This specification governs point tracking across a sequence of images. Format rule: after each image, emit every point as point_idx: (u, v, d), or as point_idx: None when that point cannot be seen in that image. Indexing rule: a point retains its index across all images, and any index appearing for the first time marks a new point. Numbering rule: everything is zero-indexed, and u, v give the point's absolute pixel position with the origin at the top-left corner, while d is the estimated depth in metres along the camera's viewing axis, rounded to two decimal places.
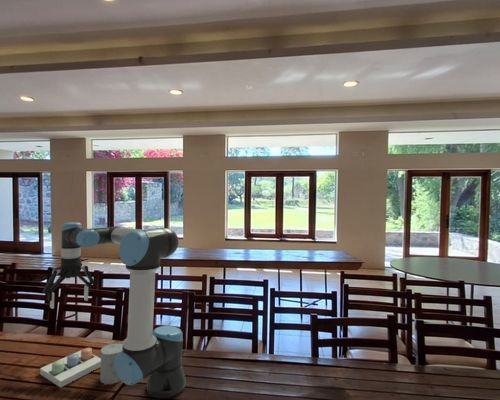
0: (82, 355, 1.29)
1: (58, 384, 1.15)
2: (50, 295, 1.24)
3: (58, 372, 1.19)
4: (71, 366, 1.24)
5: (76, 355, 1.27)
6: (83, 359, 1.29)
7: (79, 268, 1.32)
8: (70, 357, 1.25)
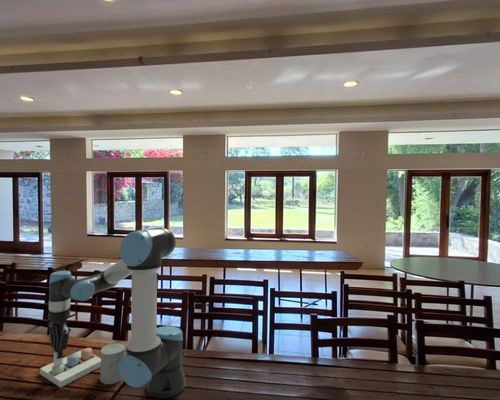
0: (82, 355, 1.29)
1: (58, 384, 1.15)
2: None
3: None
4: (71, 366, 1.24)
5: (76, 355, 1.27)
6: (83, 359, 1.29)
7: (60, 325, 1.18)
8: (70, 357, 1.25)
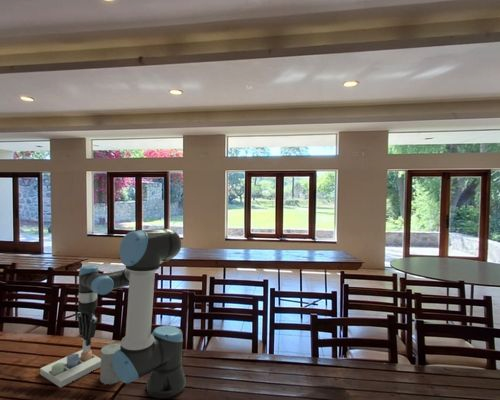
0: (82, 357, 1.29)
1: (58, 384, 1.15)
2: None
3: None
4: (71, 366, 1.24)
5: (76, 355, 1.27)
6: (83, 361, 1.29)
7: (89, 315, 1.28)
8: (70, 357, 1.25)
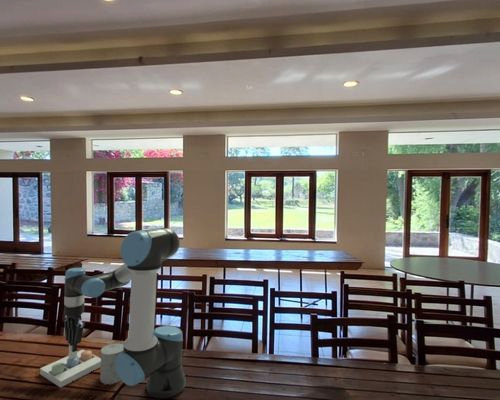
0: (82, 358, 1.29)
1: (58, 384, 1.15)
2: None
3: None
4: None
5: (76, 357, 1.27)
6: None
7: (75, 320, 1.23)
8: None
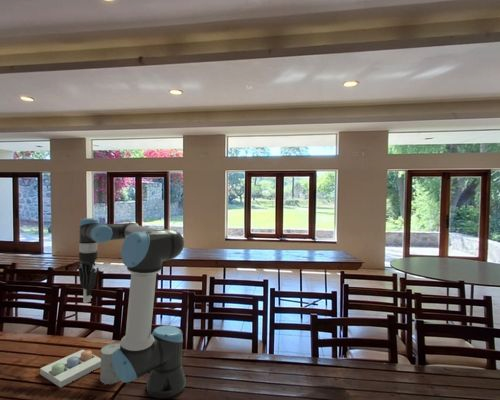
0: (82, 358, 1.29)
1: (58, 384, 1.15)
2: None
3: None
4: None
5: (76, 358, 1.27)
6: None
7: (90, 265, 1.32)
8: (70, 360, 1.25)
